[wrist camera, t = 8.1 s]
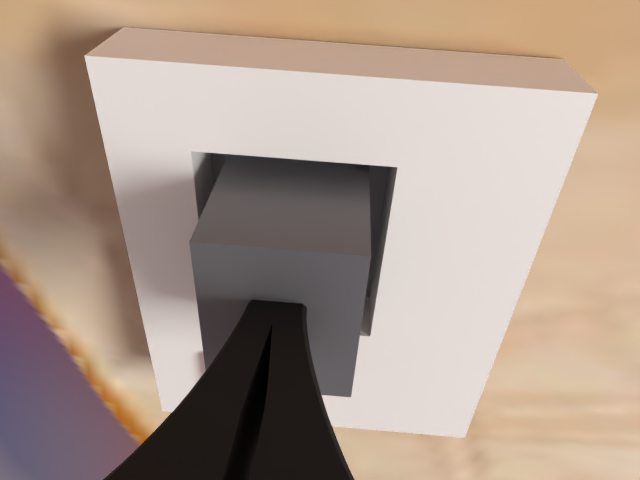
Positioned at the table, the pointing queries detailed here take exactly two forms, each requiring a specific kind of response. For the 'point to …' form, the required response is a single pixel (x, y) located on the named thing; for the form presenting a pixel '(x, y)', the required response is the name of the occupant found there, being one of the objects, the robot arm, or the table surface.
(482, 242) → the socket
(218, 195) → the plug
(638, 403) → the table surface
